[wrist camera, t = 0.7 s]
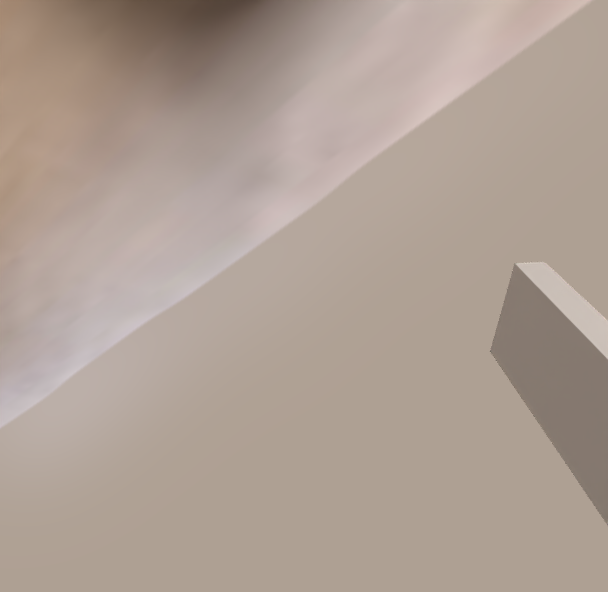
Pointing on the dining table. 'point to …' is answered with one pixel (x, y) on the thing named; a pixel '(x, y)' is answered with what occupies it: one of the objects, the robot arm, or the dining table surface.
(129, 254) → the dining table surface
